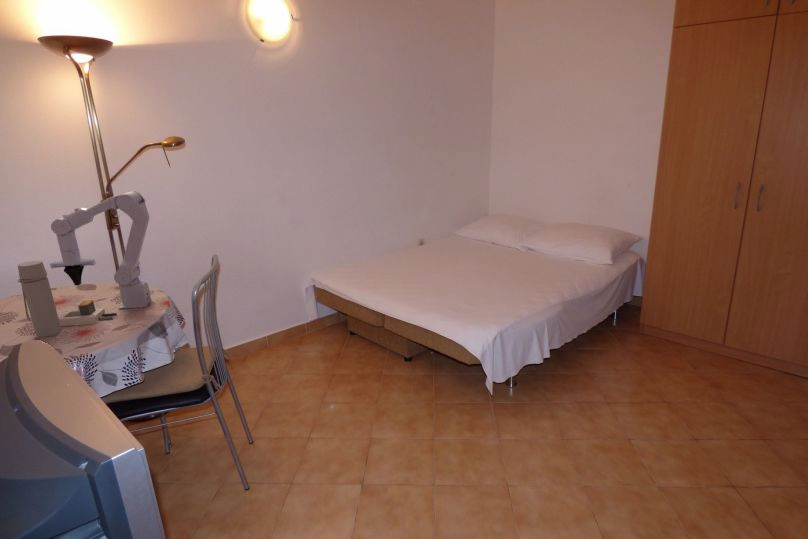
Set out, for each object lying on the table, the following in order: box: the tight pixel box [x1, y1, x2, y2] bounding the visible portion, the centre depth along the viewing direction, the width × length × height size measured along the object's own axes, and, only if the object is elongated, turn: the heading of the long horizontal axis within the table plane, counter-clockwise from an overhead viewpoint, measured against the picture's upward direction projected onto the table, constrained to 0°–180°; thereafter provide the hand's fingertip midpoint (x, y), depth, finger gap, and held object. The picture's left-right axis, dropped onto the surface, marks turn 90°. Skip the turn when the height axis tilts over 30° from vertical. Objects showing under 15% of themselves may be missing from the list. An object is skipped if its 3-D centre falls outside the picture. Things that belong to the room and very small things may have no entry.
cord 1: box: [98, 316, 114, 321], centre depth 175 cm, size 5×1×1 cm, turn 99°
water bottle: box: [17, 260, 62, 339], centre depth 161 cm, size 9×8×25 cm
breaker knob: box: [78, 299, 96, 315], centre depth 175 cm, size 3×4×4 cm, turn 10°
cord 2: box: [102, 312, 117, 317], centre depth 178 cm, size 5×1×1 cm, turn 99°
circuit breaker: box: [58, 308, 106, 327], centre depth 175 cm, size 13×8×3 cm, turn 99°
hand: (78, 284), depth 184 cm, fingers closed
